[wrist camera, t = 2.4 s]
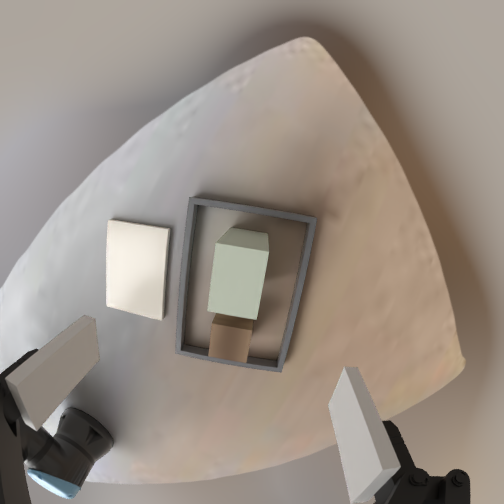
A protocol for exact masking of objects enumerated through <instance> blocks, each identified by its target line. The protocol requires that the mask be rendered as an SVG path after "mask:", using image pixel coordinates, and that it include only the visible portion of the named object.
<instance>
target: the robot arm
mask: <svg viewBox="0 0 504 504" xmlns="http://www.w3.org/2000/svg"><path fill="white" fill-rule="evenodd" d="M99 360H100V357H99V350H98V341H97V332H96V321H95V318H92V317H89V316H86V315H84V316H82V317H81V318H80V319H78V320H77V321H76V322H74V323H73V324H72V325H71V326H69V327H68V328H67V329H65V330H64V331H63V332H61V333H60V334H59V335H57V336H56V337H55V338H54V339H52V340H51V341H50V342H49V343H47V344H46V345H45V346H43V347H42V348H41V349H40V350H38V349H34V350H32V351H29V352H27V353H26V354H25V355H23V356H22V357H21V358H20V359H18V360H17V361H16V362H15V363H13V364H12V365H11V366H10V367H8V368H7V369H6V370H5V371H3V372H2V373H1V374H0V504H31V500H30V496H29V491H28V487H27V482H26V476H25V470H24V464H25V465H27V467H28V468H29V469H28V475H29V476H30V477H32V479H33V480H34V481H36V482H37V483H38V484H40V485H41V486H43V487H44V488H46V489H47V490H49V491H51V492H53V493H54V494H57V495H58V496H61V497H63V498H67V499H72V498H74V497H75V496H76V494H77V493H78V491H79V490H80V489H81V487H82V485H83V483H84V481H85V479H86V477H87V476H88V474H89V472H90V470H91V468H92V467H93V465H94V463H95V462H96V461H97V460H99V459H100V458H101V457H103V456H104V455H105V454H107V453H108V452H109V451H110V449H111V448H112V446H113V440H112V438H111V436H110V434H109V433H108V431H107V430H106V429H105V428H104V427H103V426H102V425H101V424H100V423H99V422H97V421H96V420H95V419H94V418H92V417H91V416H89V415H88V414H86V413H84V412H82V411H80V410H77V409H74V408H68V409H66V410H65V411H64V412H63V414H62V415H61V418H60V421H59V425H58V429H57V432H56V434H55V435H54V437H52V436H51V435H50V434H49V433H48V432H47V431H46V430H45V429H44V428H43V427H42V425H43V423H44V422H45V421H46V420H47V419H48V418H49V416H50V415H51V414H52V413H53V412H54V411H55V409H56V408H57V407H58V406H59V405H60V404H61V402H62V401H63V400H64V399H65V398H66V397H67V396H68V394H69V393H70V392H71V391H72V390H73V389H74V388H75V387H76V385H77V384H78V383H79V382H80V381H81V380H82V379H83V378H84V376H85V375H86V374H87V373H88V372H89V371H90V370H91V369H92V368H93V367H94V365H95V364H96V363H97V362H98V361H99ZM328 407H329V411H330V415H331V419H332V423H333V427H334V431H335V435H336V439H337V444H338V448H339V452H340V457H341V461H342V466H343V469H344V474H345V479H346V484H347V488H348V493H349V498H350V503H351V504H352V503H360V502H367V501H368V500H369V499H371V498H372V497H373V496H375V500H376V502H375V503H373V504H470V479H469V476H468V474H467V473H466V472H464V471H462V470H459V469H454V470H452V471H450V472H449V473H448V474H447V475H446V476H445V477H440V476H429V474H428V473H427V472H426V471H424V470H423V469H420V468H416V467H415V465H414V462H413V460H412V458H411V456H410V454H409V451H408V449H407V447H406V445H405V444H404V440H403V438H402V437H401V434H400V432H399V430H398V427H396V426H395V425H394V424H393V423H392V422H391V421H382V420H381V418H380V416H379V413H378V411H377V409H376V406H375V404H374V402H373V400H372V398H371V395H370V393H369V391H368V389H367V387H366V384H365V382H364V380H363V378H362V376H361V374H360V371H359V369H358V367H344V368H343V371H342V373H341V376H340V378H339V381H338V383H337V386H336V388H335V390H334V393H333V395H332V397H331V400H330V402H329V404H328ZM23 463H24V464H23Z"/></svg>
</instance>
